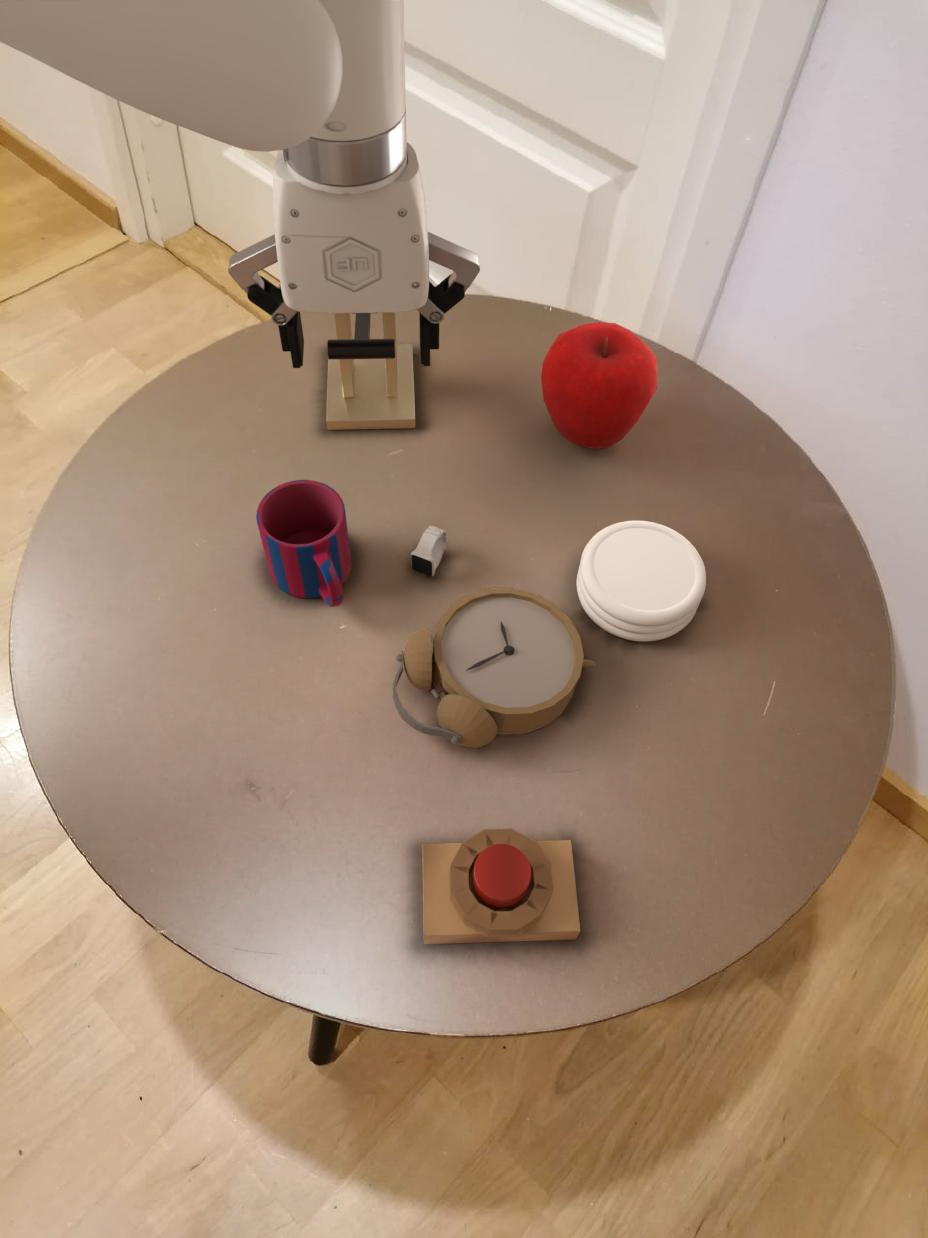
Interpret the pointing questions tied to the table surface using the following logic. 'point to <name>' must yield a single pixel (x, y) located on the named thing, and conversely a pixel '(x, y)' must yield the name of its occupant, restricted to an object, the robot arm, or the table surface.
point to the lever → (361, 343)
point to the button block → (471, 920)
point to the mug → (306, 539)
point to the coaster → (640, 580)
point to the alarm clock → (494, 666)
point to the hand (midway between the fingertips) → (362, 354)
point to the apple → (597, 383)
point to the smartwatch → (429, 551)
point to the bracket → (371, 385)
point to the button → (501, 875)
